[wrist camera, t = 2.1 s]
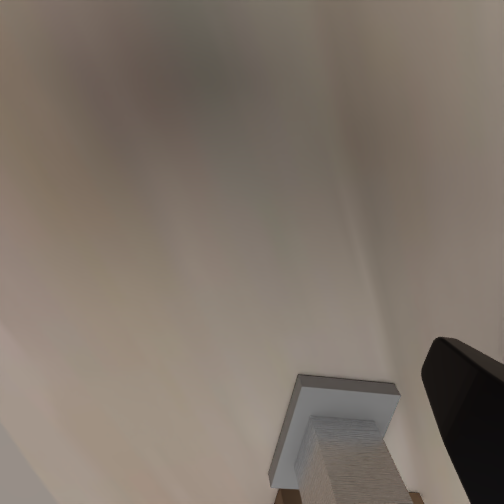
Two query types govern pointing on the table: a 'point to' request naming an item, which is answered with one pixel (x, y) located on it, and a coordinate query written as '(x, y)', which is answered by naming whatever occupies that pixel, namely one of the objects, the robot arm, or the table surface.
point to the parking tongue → (327, 415)
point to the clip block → (347, 464)
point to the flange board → (290, 500)
